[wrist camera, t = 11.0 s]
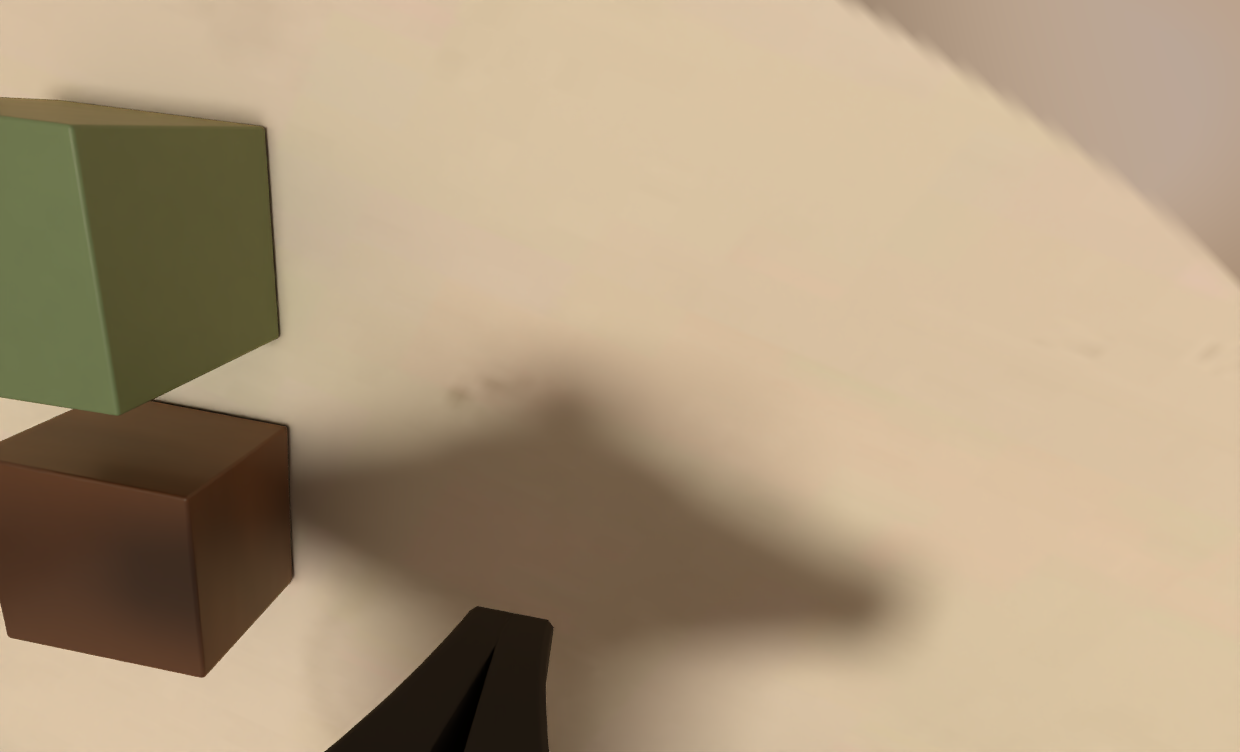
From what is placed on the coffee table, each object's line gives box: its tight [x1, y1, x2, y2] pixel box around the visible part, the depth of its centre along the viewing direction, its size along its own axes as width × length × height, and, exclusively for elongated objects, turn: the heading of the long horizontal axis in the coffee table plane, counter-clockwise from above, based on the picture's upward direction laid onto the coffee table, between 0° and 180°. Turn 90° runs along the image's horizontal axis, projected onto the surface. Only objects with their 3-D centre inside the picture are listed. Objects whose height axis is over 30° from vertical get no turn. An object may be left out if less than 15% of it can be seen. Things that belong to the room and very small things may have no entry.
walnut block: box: [0, 401, 292, 678], centre depth 13 cm, size 4×4×3 cm
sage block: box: [0, 97, 279, 416], centre depth 11 cm, size 4×4×4 cm
